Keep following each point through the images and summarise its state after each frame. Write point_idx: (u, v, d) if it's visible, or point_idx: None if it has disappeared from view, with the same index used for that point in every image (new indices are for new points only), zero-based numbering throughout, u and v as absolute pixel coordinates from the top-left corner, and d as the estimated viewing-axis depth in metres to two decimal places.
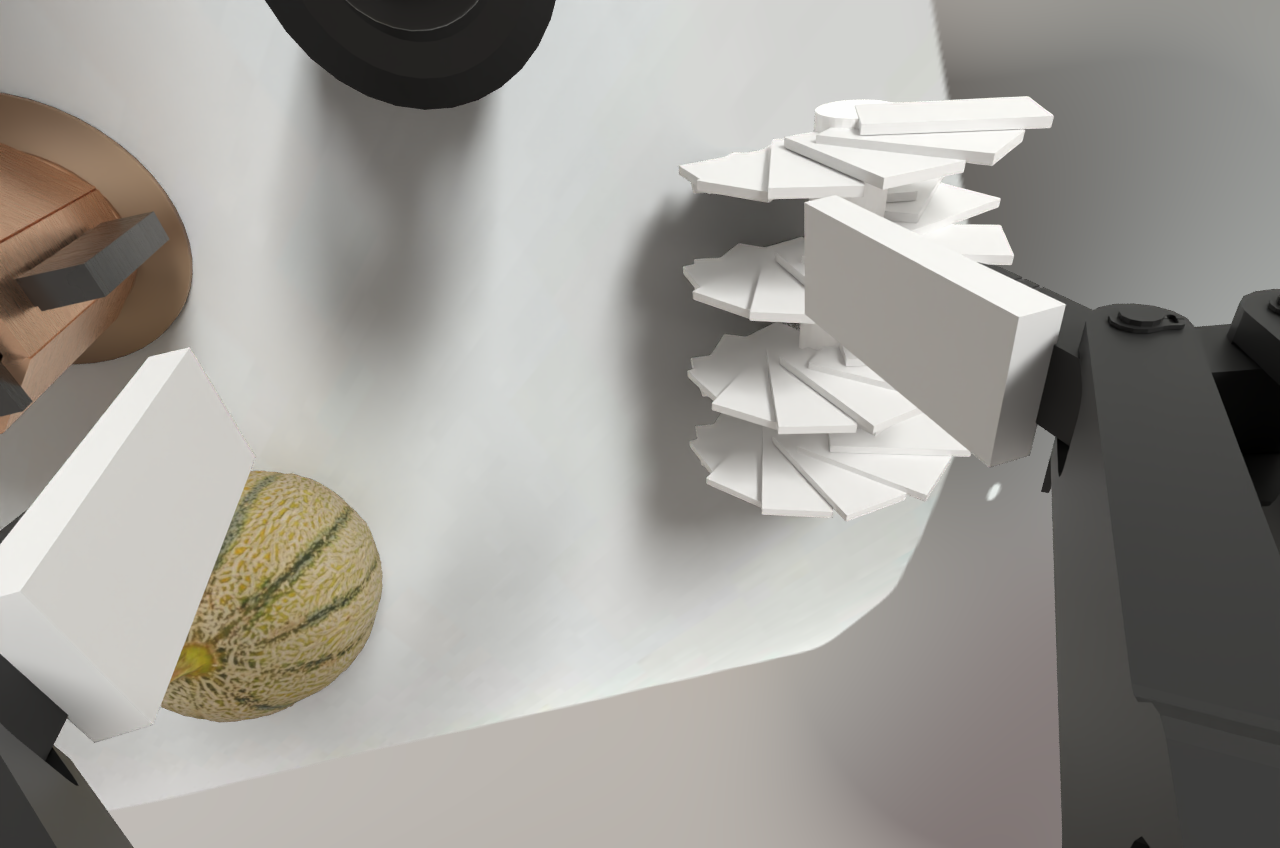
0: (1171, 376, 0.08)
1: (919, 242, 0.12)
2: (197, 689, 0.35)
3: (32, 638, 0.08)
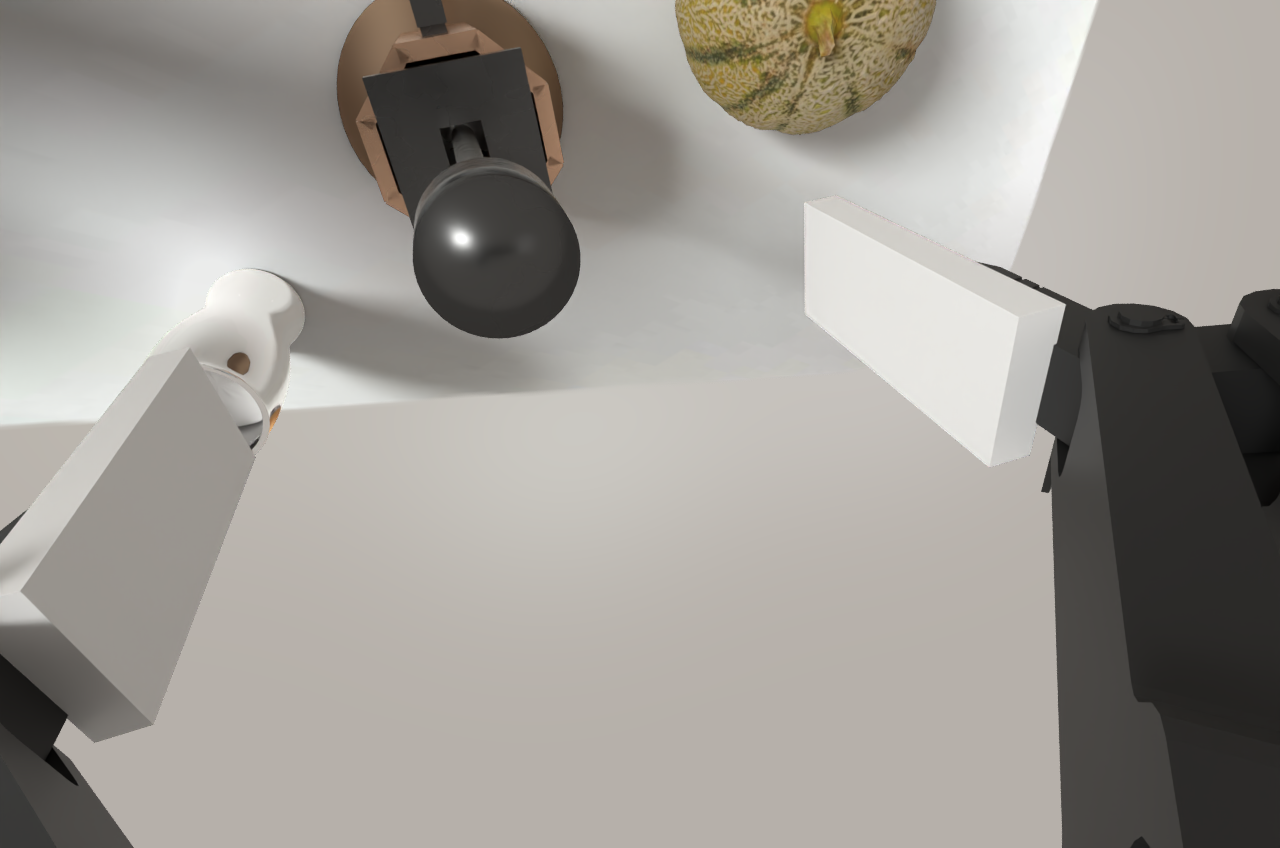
0: (1172, 376, 0.08)
1: (920, 242, 0.12)
2: (858, 30, 0.34)
3: (32, 638, 0.08)
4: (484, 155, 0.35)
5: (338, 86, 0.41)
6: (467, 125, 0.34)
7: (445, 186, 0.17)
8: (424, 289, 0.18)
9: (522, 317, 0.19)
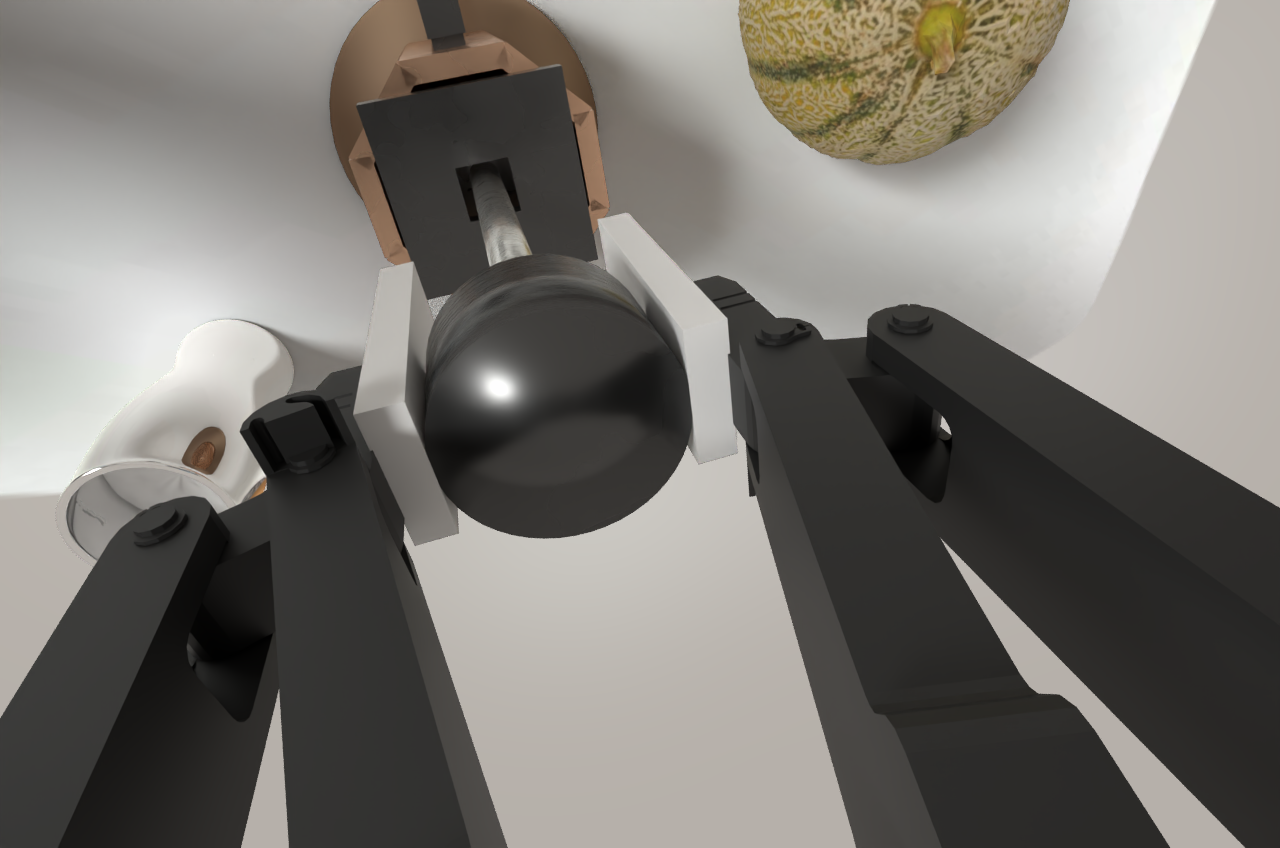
0: (813, 379, 0.09)
1: (658, 260, 0.13)
2: (982, 42, 0.27)
3: (400, 444, 0.10)
4: (510, 196, 0.28)
5: (331, 107, 0.34)
6: None
7: (479, 319, 0.10)
8: (443, 481, 0.11)
9: (596, 507, 0.12)
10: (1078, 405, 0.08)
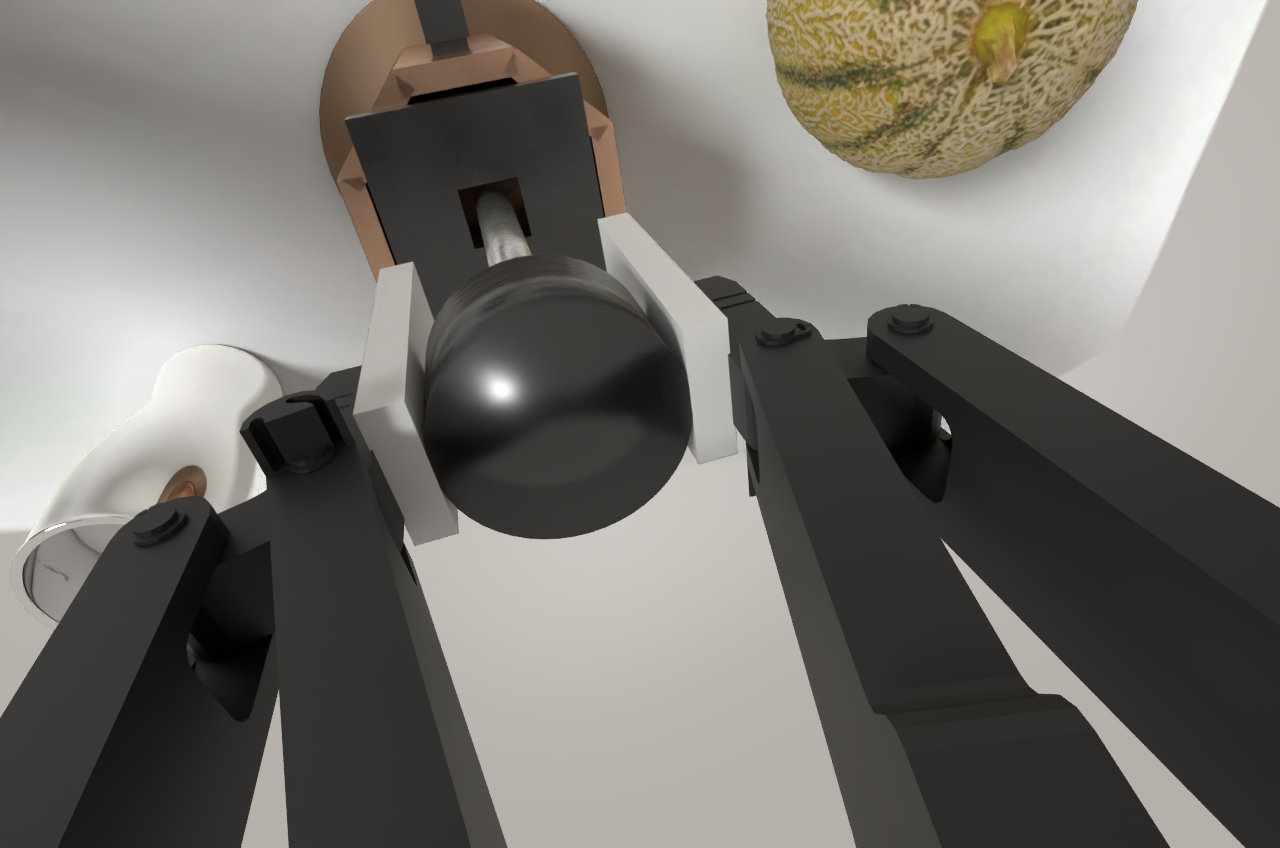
0: (814, 378, 0.09)
1: (658, 259, 0.13)
2: (1045, 46, 0.24)
3: (400, 444, 0.10)
4: (509, 196, 0.28)
5: (321, 117, 0.31)
6: None
7: (479, 320, 0.10)
8: (442, 481, 0.11)
9: (596, 507, 0.12)
10: (1078, 405, 0.08)
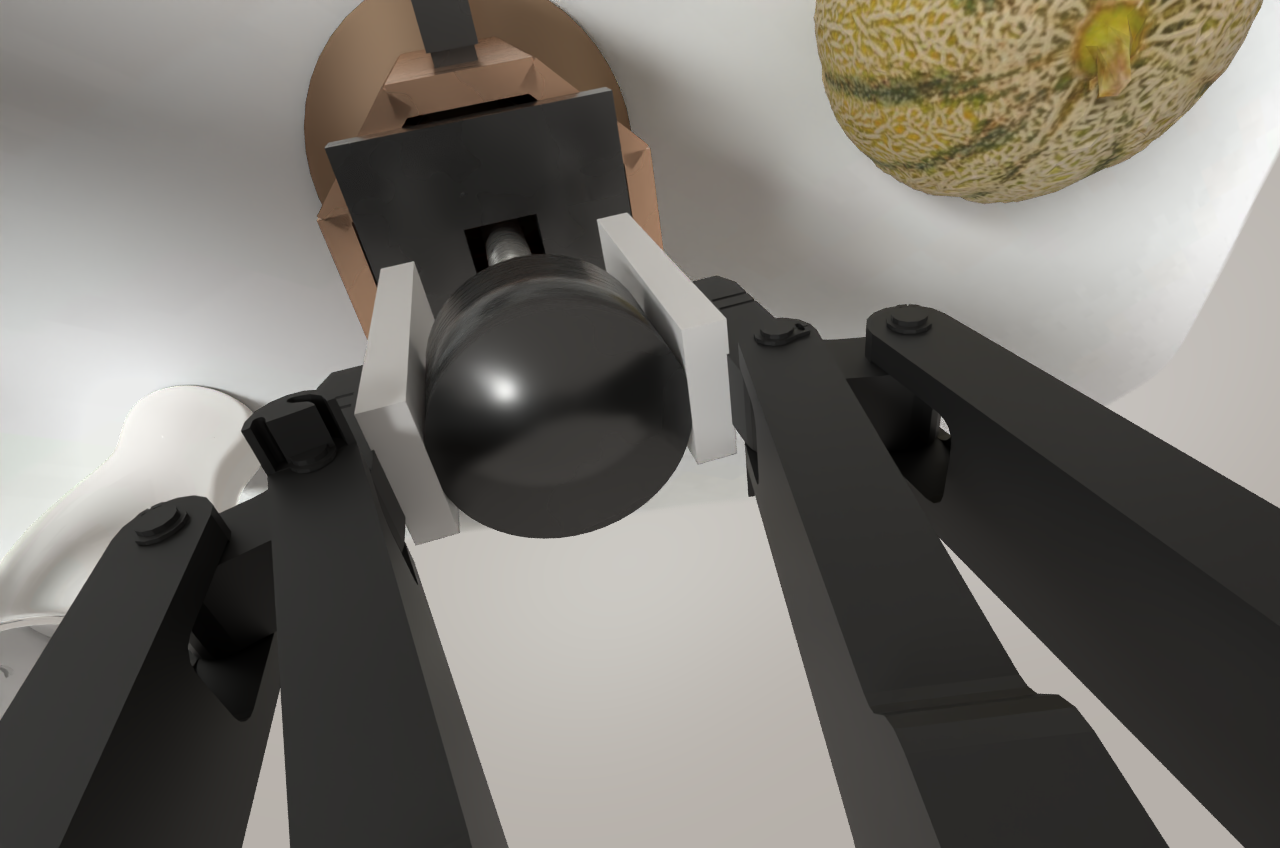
0: (813, 379, 0.09)
1: (658, 259, 0.13)
2: (1161, 54, 0.20)
3: (401, 444, 0.10)
4: None
5: (306, 133, 0.27)
6: None
7: (479, 319, 0.10)
8: (443, 481, 0.11)
9: (596, 507, 0.12)
10: (1077, 405, 0.08)
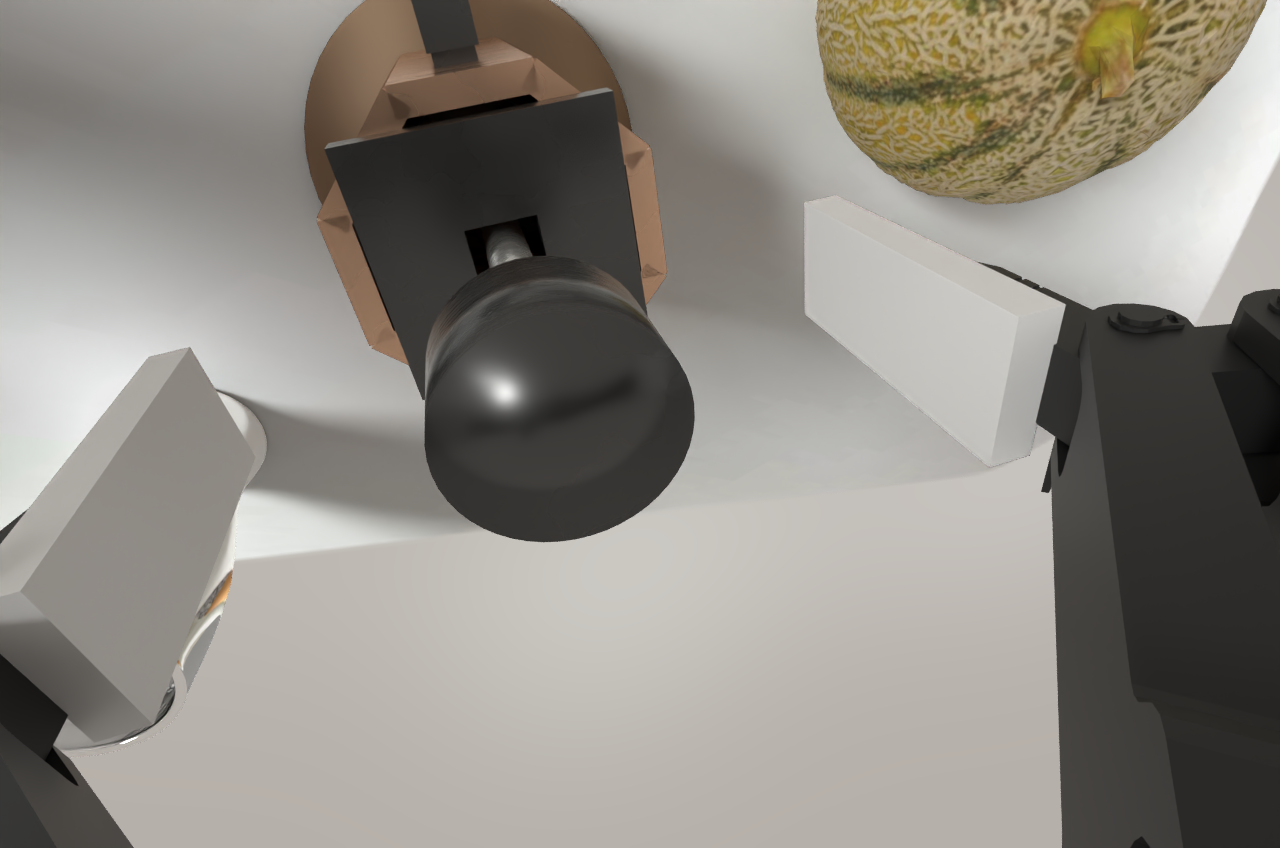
0: (1170, 376, 0.08)
1: (919, 242, 0.12)
2: (1165, 54, 0.20)
3: (32, 638, 0.08)
4: None
5: (307, 133, 0.27)
6: None
7: (480, 322, 0.10)
8: (443, 484, 0.11)
9: (597, 510, 0.12)
10: None
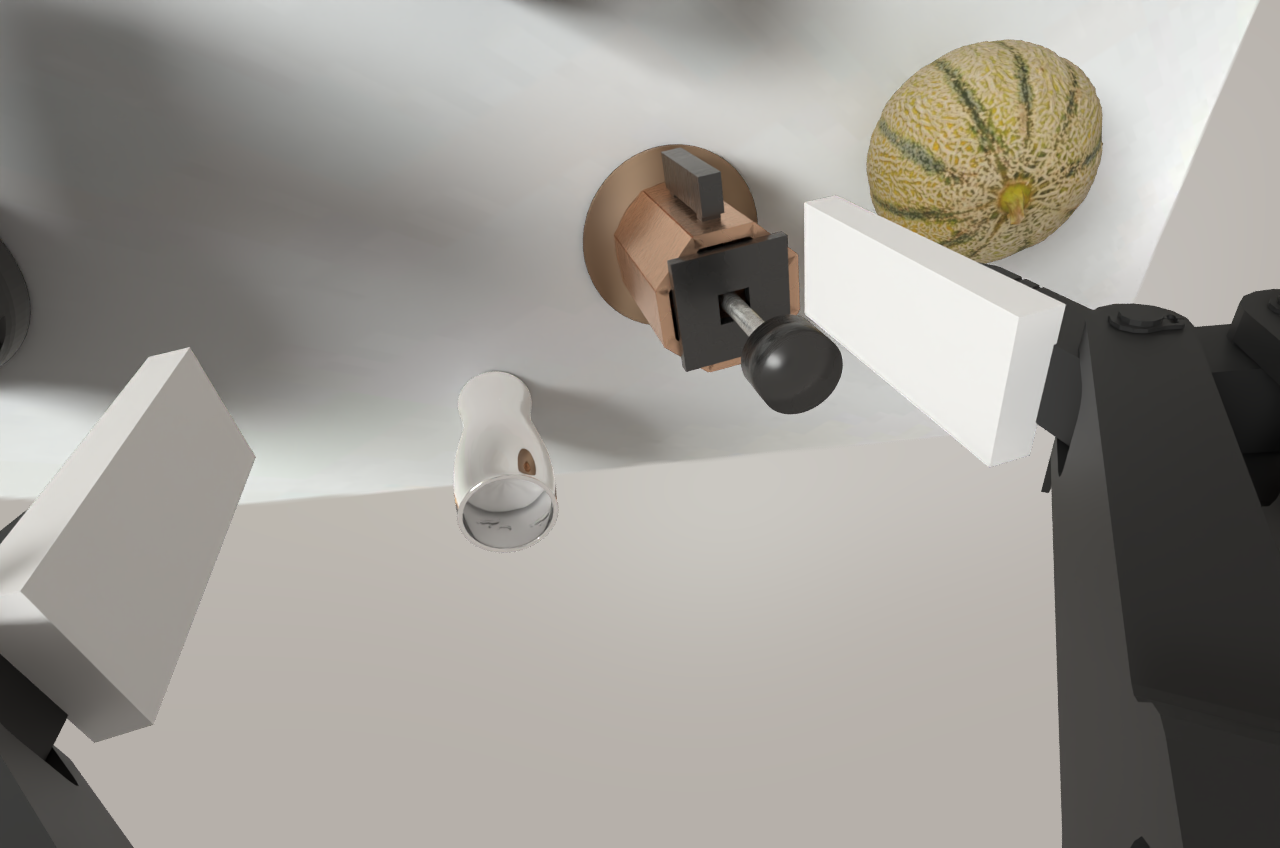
0: (1171, 376, 0.08)
1: (919, 242, 0.12)
2: (1041, 203, 0.42)
3: (32, 638, 0.08)
4: None
5: (586, 230, 0.50)
6: None
7: (779, 338, 0.32)
8: (762, 391, 0.33)
9: (806, 402, 0.34)
10: None
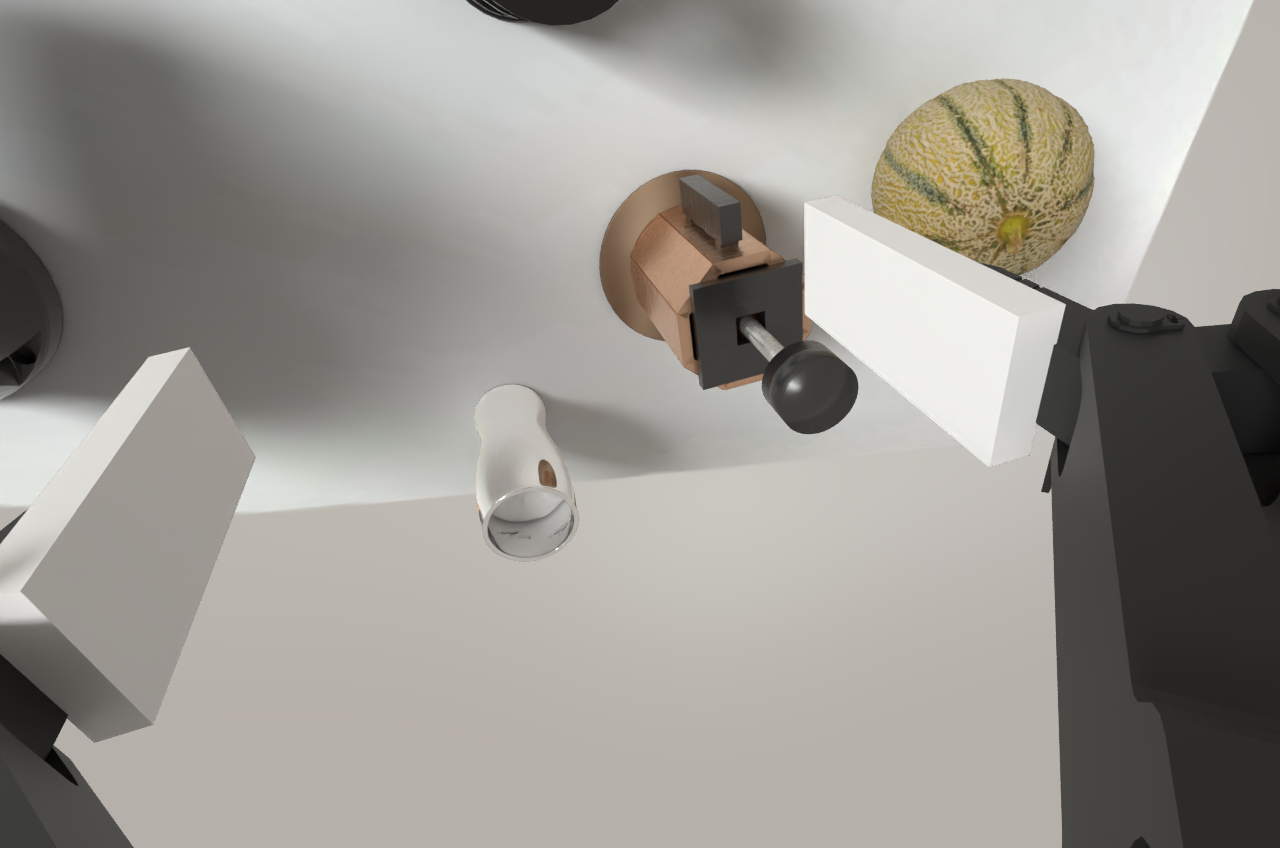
0: (1171, 376, 0.08)
1: (919, 242, 0.12)
2: (1037, 234, 0.44)
3: (31, 638, 0.08)
4: None
5: (603, 251, 0.51)
6: None
7: (800, 364, 0.34)
8: (784, 412, 0.35)
9: (823, 423, 0.36)
10: None
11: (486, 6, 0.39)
